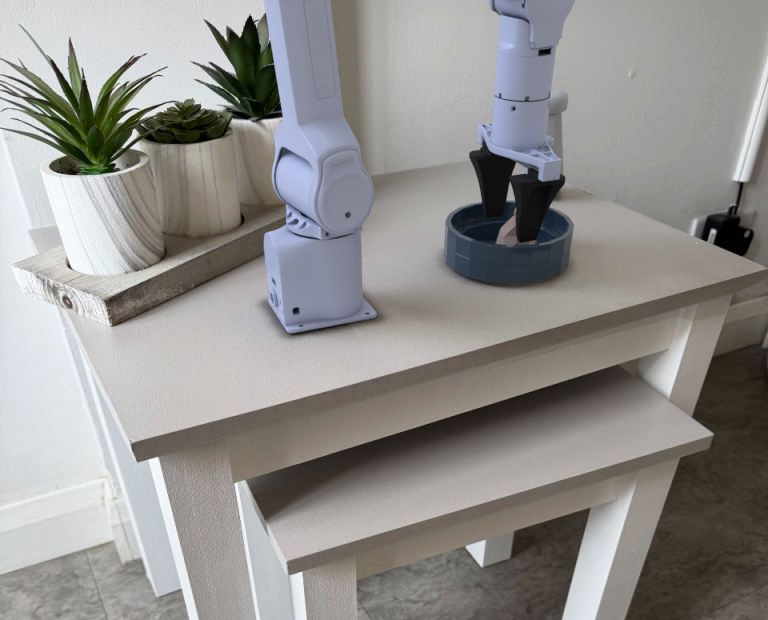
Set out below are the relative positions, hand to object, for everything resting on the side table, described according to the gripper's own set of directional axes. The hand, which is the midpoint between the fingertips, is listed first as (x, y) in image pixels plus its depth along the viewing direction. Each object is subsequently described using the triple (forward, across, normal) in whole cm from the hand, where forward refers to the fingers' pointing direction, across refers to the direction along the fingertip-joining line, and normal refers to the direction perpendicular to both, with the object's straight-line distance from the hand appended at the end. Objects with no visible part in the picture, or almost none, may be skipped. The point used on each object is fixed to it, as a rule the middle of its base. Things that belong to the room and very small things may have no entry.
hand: (509, 228), depth 89 cm
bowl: (+4, 0, 0) cm, 4 cm away
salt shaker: (+4, +18, -15) cm, 24 cm away
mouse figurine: (+4, 0, 0) cm, 4 cm away
